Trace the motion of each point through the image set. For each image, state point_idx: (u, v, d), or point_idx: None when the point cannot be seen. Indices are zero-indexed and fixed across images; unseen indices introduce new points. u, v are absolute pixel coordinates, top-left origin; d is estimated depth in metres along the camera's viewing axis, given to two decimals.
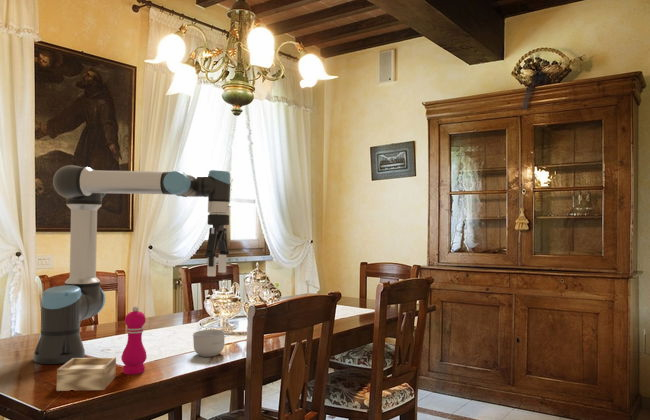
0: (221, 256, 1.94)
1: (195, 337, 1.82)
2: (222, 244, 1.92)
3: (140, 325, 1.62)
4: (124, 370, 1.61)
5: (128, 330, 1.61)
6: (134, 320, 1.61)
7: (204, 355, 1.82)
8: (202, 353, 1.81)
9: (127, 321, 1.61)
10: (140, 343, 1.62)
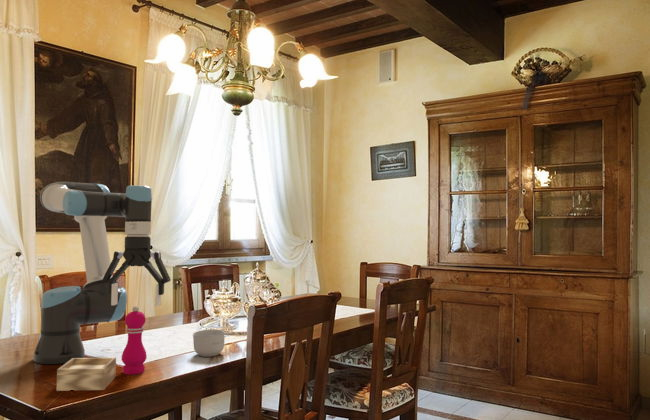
0: None
1: (195, 337, 1.82)
2: None
3: (140, 325, 1.62)
4: (124, 370, 1.61)
5: (128, 330, 1.61)
6: (134, 320, 1.61)
7: (204, 355, 1.82)
8: (202, 353, 1.81)
9: (127, 321, 1.61)
10: (140, 343, 1.62)
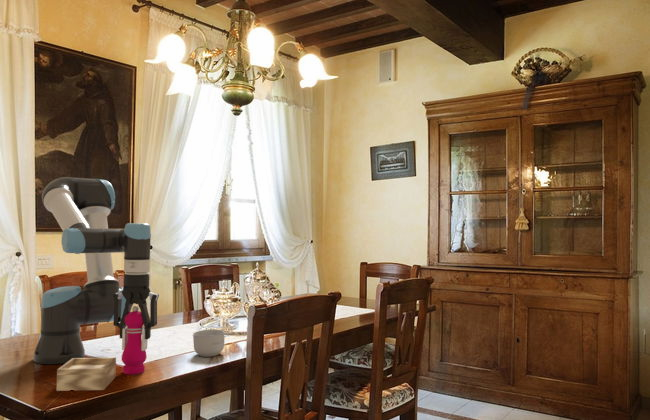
0: None
1: (195, 337, 1.82)
2: None
3: (140, 325, 1.62)
4: (124, 370, 1.61)
5: (128, 330, 1.61)
6: (134, 320, 1.61)
7: (204, 355, 1.82)
8: (202, 353, 1.81)
9: (127, 321, 1.61)
10: (140, 343, 1.62)
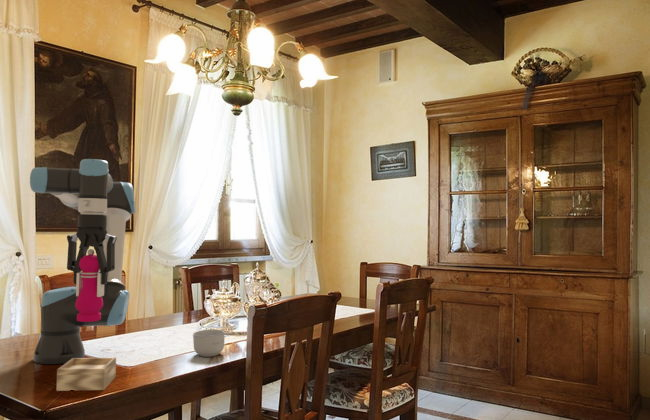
0: None
1: (195, 337, 1.82)
2: None
3: (95, 269, 1.50)
4: (78, 317, 1.49)
5: (82, 274, 1.49)
6: (89, 263, 1.48)
7: (204, 355, 1.82)
8: (202, 353, 1.81)
9: (81, 265, 1.49)
10: (95, 289, 1.50)
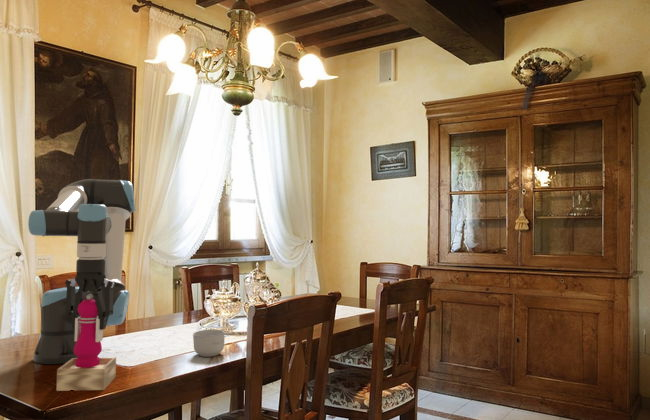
0: None
1: (195, 337, 1.82)
2: None
3: (94, 314, 1.50)
4: (76, 363, 1.48)
5: (81, 320, 1.49)
6: (87, 309, 1.48)
7: (204, 355, 1.82)
8: (202, 353, 1.81)
9: (79, 310, 1.48)
10: (94, 334, 1.50)
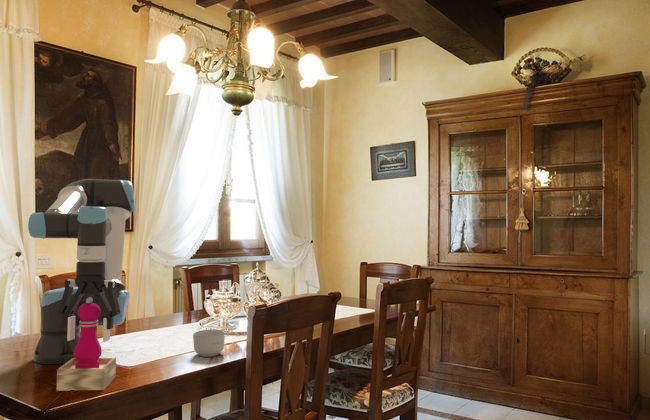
0: None
1: (195, 337, 1.82)
2: None
3: (94, 318, 1.50)
4: (76, 367, 1.48)
5: (81, 323, 1.49)
6: (87, 313, 1.48)
7: (204, 355, 1.82)
8: (202, 353, 1.81)
9: (79, 314, 1.48)
10: (94, 337, 1.50)
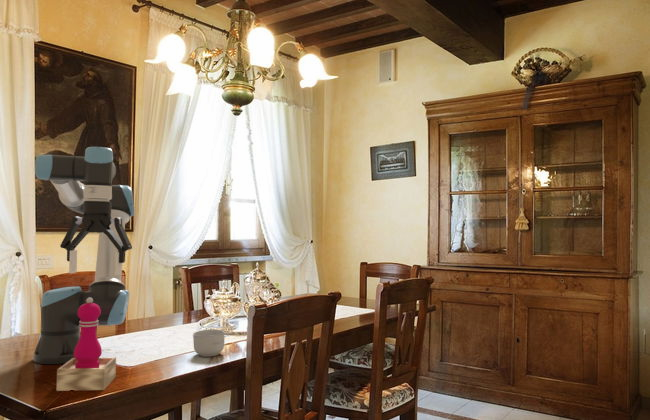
0: None
1: (195, 337, 1.82)
2: None
3: (94, 318, 1.50)
4: (76, 367, 1.48)
5: (81, 323, 1.49)
6: (87, 313, 1.48)
7: (204, 355, 1.82)
8: (202, 353, 1.81)
9: (79, 314, 1.48)
10: (94, 337, 1.50)
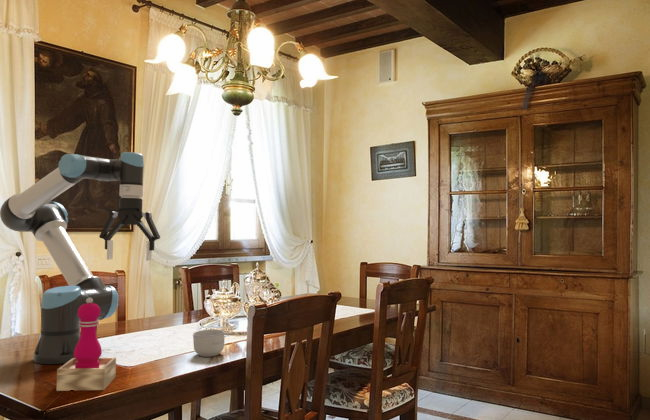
0: None
1: (195, 337, 1.82)
2: None
3: (94, 318, 1.50)
4: (76, 367, 1.48)
5: (81, 323, 1.49)
6: (87, 313, 1.48)
7: (204, 355, 1.82)
8: (202, 353, 1.81)
9: (79, 314, 1.48)
10: (94, 337, 1.50)
